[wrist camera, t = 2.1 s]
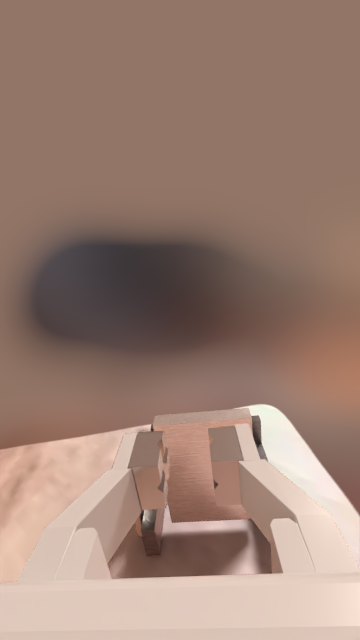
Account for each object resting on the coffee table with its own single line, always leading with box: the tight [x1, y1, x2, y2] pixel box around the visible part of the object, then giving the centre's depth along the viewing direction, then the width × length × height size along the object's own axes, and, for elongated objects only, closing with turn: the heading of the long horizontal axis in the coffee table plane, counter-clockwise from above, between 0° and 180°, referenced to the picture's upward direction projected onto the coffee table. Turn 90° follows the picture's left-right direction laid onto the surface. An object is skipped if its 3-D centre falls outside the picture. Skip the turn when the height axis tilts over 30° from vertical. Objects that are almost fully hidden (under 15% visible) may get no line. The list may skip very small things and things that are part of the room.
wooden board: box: [153, 408, 253, 523], centre depth 28 cm, size 14×2×14 cm, turn 88°
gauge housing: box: [135, 416, 268, 555], centre depth 32 cm, size 18×12×8 cm
